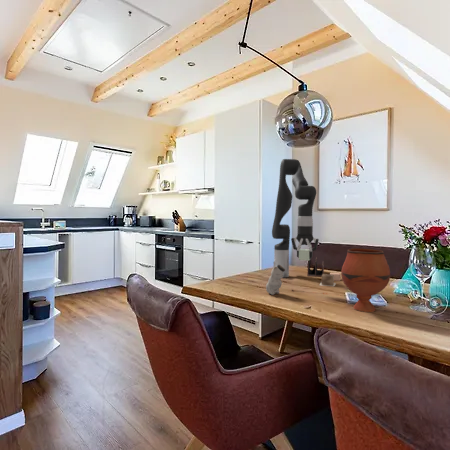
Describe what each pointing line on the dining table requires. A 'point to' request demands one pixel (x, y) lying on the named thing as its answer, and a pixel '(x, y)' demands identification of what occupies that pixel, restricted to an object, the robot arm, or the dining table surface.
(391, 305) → the dining table surface
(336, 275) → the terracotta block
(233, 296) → the dining table surface
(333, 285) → the build plate
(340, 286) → the dining table surface
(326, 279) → the walnut block
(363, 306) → the goblet
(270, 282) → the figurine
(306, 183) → the robot arm
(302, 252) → the sage block
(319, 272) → the letter holder
